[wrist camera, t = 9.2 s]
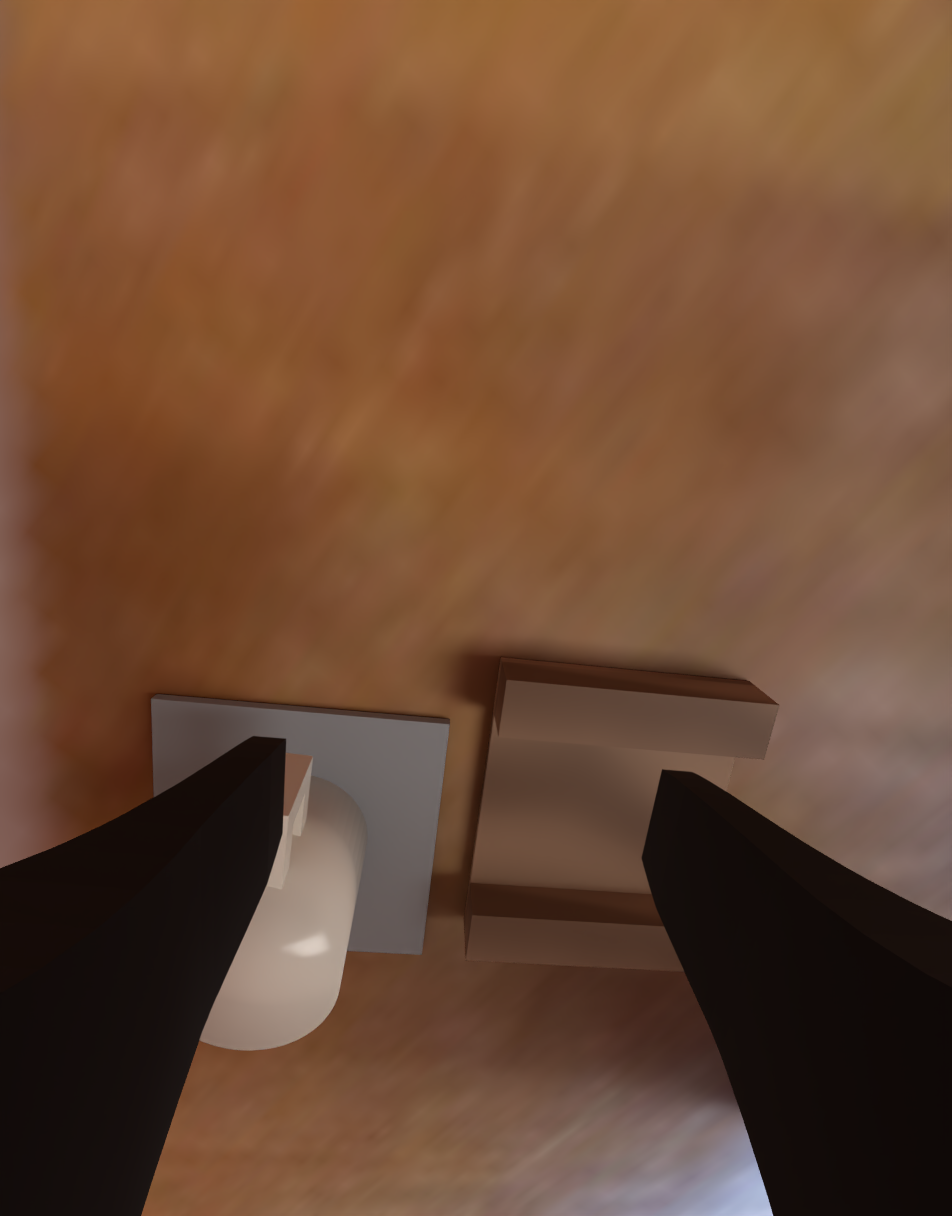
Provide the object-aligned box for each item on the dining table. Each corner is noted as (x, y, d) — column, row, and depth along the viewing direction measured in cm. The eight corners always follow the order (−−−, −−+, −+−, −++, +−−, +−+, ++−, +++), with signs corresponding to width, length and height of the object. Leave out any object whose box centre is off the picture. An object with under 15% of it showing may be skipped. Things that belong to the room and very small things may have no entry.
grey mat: (422, 946, 24) (421, 954, 23) (162, 932, 23) (157, 940, 23) (449, 719, 21) (449, 724, 21) (156, 693, 20) (151, 698, 20)
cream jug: (359, 898, 23) (330, 1056, 17) (223, 884, 22) (145, 1043, 16) (383, 727, 21) (360, 839, 15) (235, 708, 20) (152, 816, 14)
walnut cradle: (683, 930, 24) (704, 972, 22) (463, 917, 24) (465, 960, 22) (749, 680, 21) (779, 705, 19) (500, 656, 21) (507, 679, 19)
